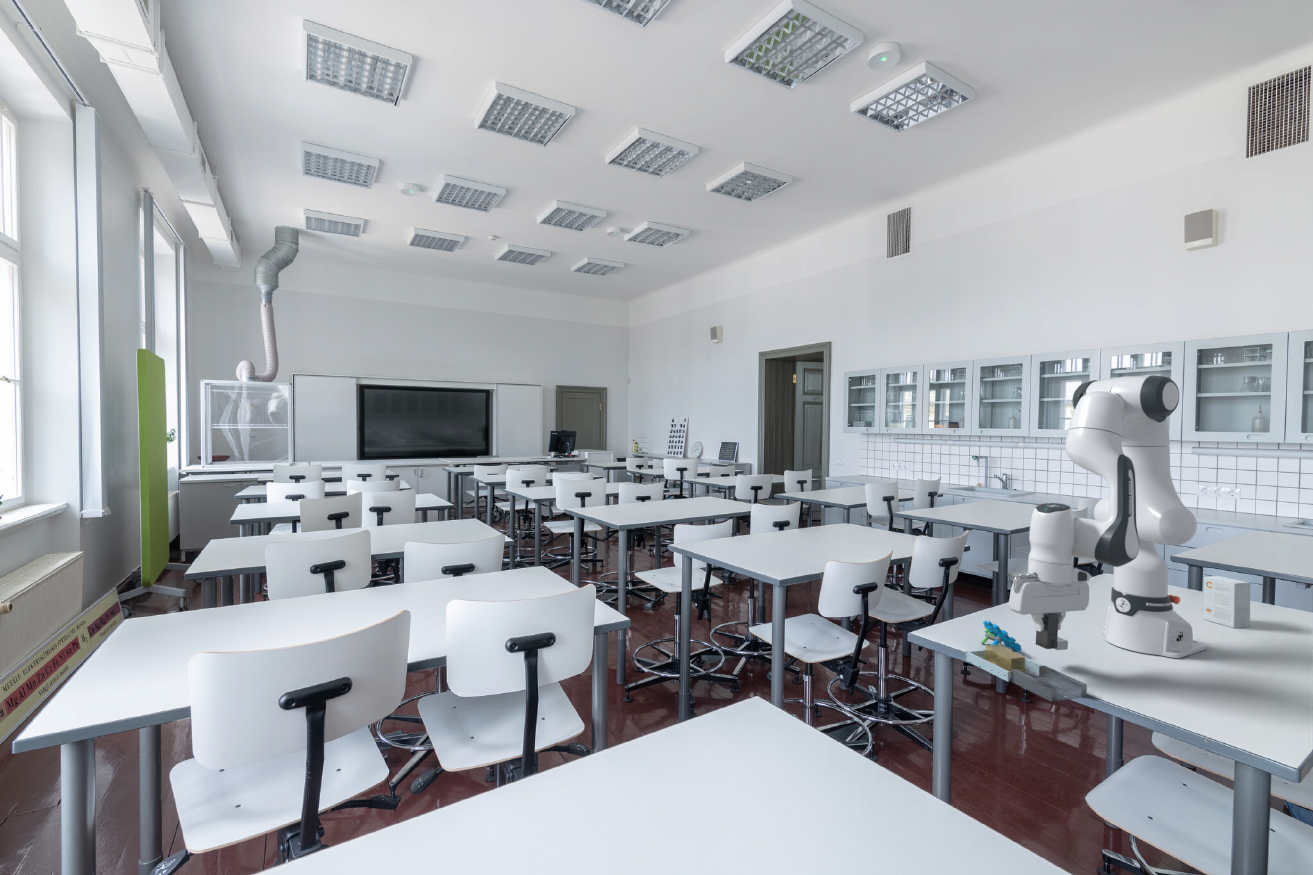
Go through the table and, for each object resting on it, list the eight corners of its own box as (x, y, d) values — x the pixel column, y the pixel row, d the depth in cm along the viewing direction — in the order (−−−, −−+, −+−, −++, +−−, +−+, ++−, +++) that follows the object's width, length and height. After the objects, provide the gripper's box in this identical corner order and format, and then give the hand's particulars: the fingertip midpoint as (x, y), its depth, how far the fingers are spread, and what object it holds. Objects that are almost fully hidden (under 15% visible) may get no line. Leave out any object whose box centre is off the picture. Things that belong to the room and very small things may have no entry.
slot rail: (1044, 677, 134) (1044, 665, 133) (1086, 697, 124) (1086, 684, 124) (1010, 682, 131) (1010, 669, 131) (1051, 702, 121) (1051, 689, 121)
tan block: (998, 660, 143) (999, 644, 143) (1012, 666, 139) (1012, 650, 139) (985, 661, 142) (985, 645, 142) (998, 668, 138) (999, 651, 138)
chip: (1010, 667, 139) (1010, 650, 139) (1024, 674, 135) (1025, 657, 135) (996, 668, 138) (996, 652, 138) (1010, 675, 134) (1011, 658, 134)
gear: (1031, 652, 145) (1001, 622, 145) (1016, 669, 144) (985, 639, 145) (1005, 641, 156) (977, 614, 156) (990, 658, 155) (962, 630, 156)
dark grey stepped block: (1067, 649, 137) (1069, 615, 137) (1050, 650, 136) (1052, 616, 136) (1048, 641, 142) (1049, 608, 142) (1031, 642, 141) (1033, 610, 141)
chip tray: (1002, 656, 146) (1002, 647, 146) (1047, 677, 134) (1047, 667, 134) (965, 661, 143) (965, 651, 143) (1007, 682, 131) (1007, 672, 131)
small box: (1250, 627, 169) (1251, 582, 169) (1233, 628, 168) (1235, 583, 167) (1218, 618, 177) (1219, 575, 177) (1201, 619, 175) (1203, 576, 175)
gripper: (1026, 577, 133) (1023, 637, 133) (1095, 573, 138) (1093, 631, 138) (1003, 570, 139) (1000, 628, 139) (1070, 567, 144) (1068, 622, 144)
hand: (1047, 629), depth 139 cm, fingers closed on dark grey stepped block, 3 cm apart
